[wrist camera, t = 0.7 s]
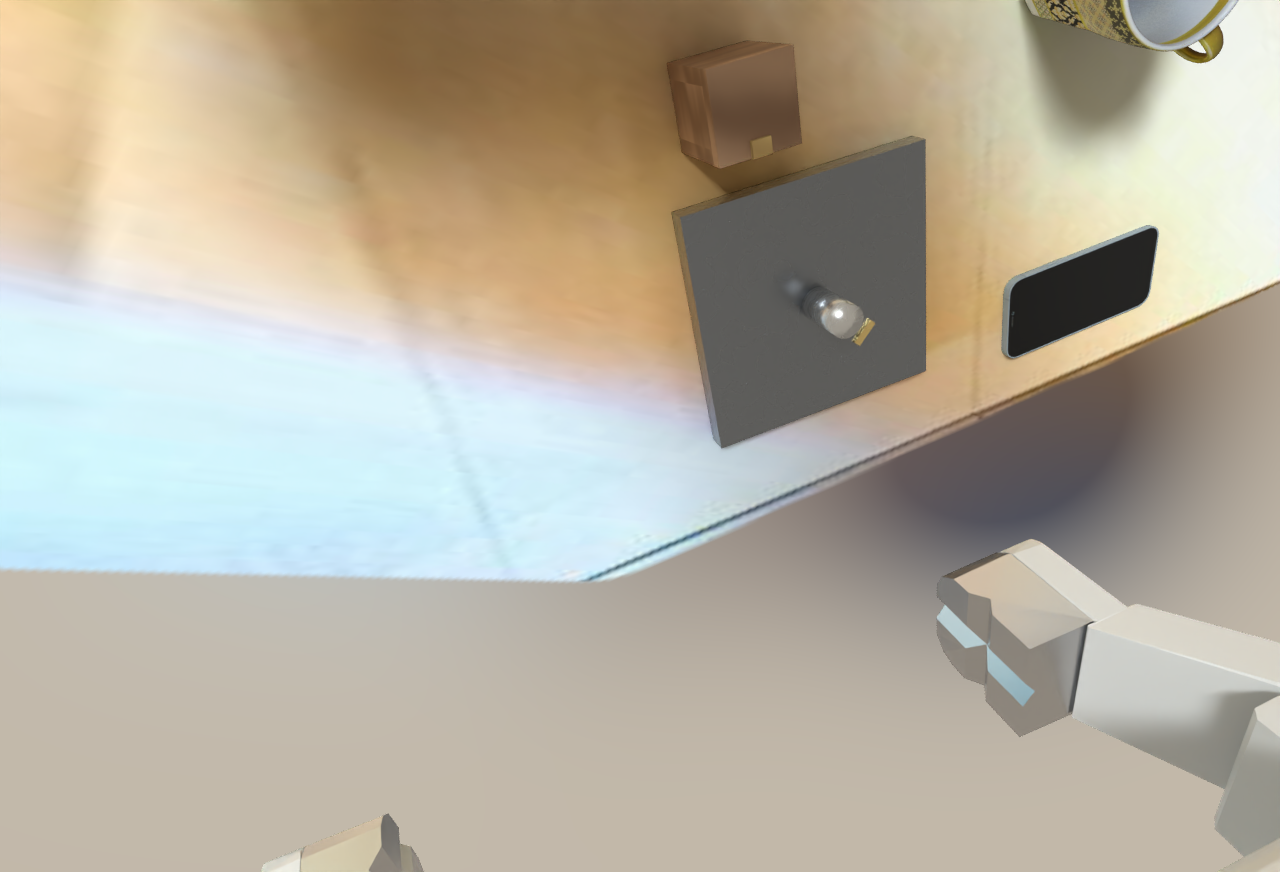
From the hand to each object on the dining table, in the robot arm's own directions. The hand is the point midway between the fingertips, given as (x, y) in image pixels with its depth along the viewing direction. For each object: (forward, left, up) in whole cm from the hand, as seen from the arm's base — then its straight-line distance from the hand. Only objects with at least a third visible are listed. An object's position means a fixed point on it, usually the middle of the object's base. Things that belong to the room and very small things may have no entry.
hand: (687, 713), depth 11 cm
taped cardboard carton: (0, +18, -40) cm, 44 cm away
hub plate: (+15, +23, -40) cm, 49 cm away
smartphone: (+23, +48, -41) cm, 67 cm away
